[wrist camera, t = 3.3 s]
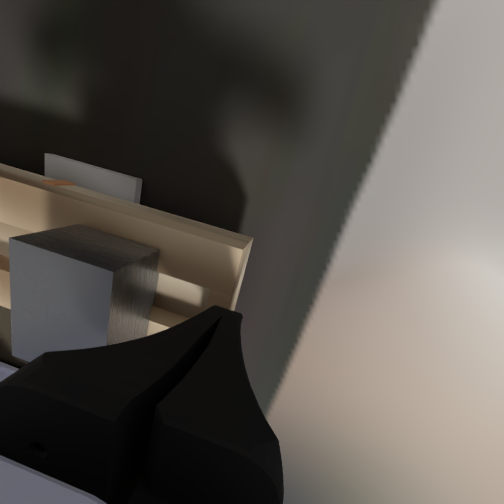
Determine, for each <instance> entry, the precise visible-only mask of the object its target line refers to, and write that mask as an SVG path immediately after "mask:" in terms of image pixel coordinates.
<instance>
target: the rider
mask: <svg viewBox="0 0 504 504" xmlns="http://www.w3.org/2000/svg"><path fill="white" fill-rule="evenodd" d="M159 254H160V249H158V248H154V247H151V246H148V245H145V244H142V243H138V242H135V241H132V240H129V239H125V238H122V237H119V236H116V235H113V234H109V233H106V232H103V231H100V230H97V229H93V228H90V227H87V226H84V225H81V224H76V225H71V226H65V227H60V228H55V229H50V230H45V231H40V232H35V233H30V234H25V235H20V236H15V237H10V238H9V266H10V301H11V337H12V356H15V357H17V358H20V359H23V360H25V361H28V362H31V361H32V360H34V359H35V358H37V357H38V356H40V355H42V354H43V353H45V352H50V351H64V350H76V349H86V348H93V347H100V346H106V345H112V344H117V343H122V342H126V341H130V340H134V339H138V338H142V337H145V336H147V332H148V325H149V319H150V312H151V306H152V305H153V304H154V303H155V297H156V290H157V284H158V278H159V273H158V272H157V267H158V260H159Z"/></svg>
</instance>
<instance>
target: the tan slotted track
mask: <svg viewBox="0 0 504 504" xmlns="http://www.w3.org/2000/svg"><path fill="white" fill-rule="evenodd" d="M142 180H143V179H140V178H136V177H133V176H129V175H126V174H122V173H119V172H115V171H111V170H108V169H104V168H101V167H97V166H94V165H90V164H87V163H83V162H80V161H76V160H73V159H69V158H66V157H62V156H59V155H55V154H48V153H45V176H42V175H38V174H35V173H32V172H28V171H25V170H21V169H18V168H15V167H11V166H8V165H4V164H1V163H0V305H1V306H3V307H6V308H9V309H11V301H10V266H9V238H10V237H15V236H20V235H25V234H30V233H35V232H40V231H45V230H50V229H55V228H60V227H65V226H71V225H76V224H81V225H84V226H87V227H90V228H93V229H97V230H100V231H103V232H106V233H109V234H113V235H116V236H119V237H122V238H125V239H129V240H132V241H135V242H138V243H142V244H145V245H148V246H151V247H154V248H158V249H160V254H159V260H158V267H157V272H158V273H159V278H158V284H157V290H156V297H155V303H154V304H153V305H152V306H151V312H150V319H149V325H148V332H147V336H149V335H152V334H155V333H158V332H160V331H163V330H166V329H168V328H171V327H173V326H175V325H177V324H180V323H182V322H184V321H186V320H188V319H190V318H191V317H193V316H195V315H197V314H199V313H201V312H203V311H204V310H206V309H208V308H210V307H211V306H214V305H217V306H220V307H223V308H226V309H229V310H232V311H234V310H235V306H236V302H237V298H238V295H239V291H240V287H241V283H242V279H243V276H244V272H245V268H246V264H247V260H248V256H249V253H250V249H251V245H252V241H253V238H252V237H249V236H245V235H242V234H238V233H235V232H232V231H228V230H225V229H221V228H218V227H215V226H211V225H208V224H205V223H201V222H198V221H194V220H191V219H188V218H184V217H181V216H177V215H174V214H171V213H167V212H164V211H160V210H157V209H154V208H150V207H147V206H143V205H140V196H141V188H142Z"/></svg>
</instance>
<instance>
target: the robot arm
mask: <svg viewBox="0 0 504 504" xmlns="http://www.w3.org/2000/svg"><path fill="white" fill-rule="evenodd" d="M242 318H243V316H242V314H241V313H238V312H235V311H232V310H229V309H226V308H223V307H220V306H217V305H214V306H211V307H210V308H208V309H206V310H204V311H203V312H201V313H199V314H197V315H195V316H193V317H191V318H190V319H188V320H186V321H184V322H182V323H180V324H177V325H175V326H173V327H171V328H168V329H166V330H163V331H160V332H158V333H155V334H152V335H149V336H145V337H142V338H138V339H134V340H130V341H126V342H122V343H117V344H112V345H106V346H100V347H93V348H86V349H76V350H64V351H50V352H45V353H43V354H42V355H40V356H38V357H37V358H35V359H34V360H32V361H31V362H29V363H28V364H26V365H25V366H23V367H22V368H20V369H18V368H16V367H13V366H10V365H8V364H5V363H3V362H0V504H283V495H284V487H283V471H282V470H283V469H282V460H281V453H280V446H279V441H278V439H277V437H276V435H275V434H274V432H273V431H272V429H271V427H270V426H269V424H268V422H267V421H266V419H265V417H264V415H263V413H262V411H261V409H260V407H259V405H258V402H257V400H256V397H255V395H254V392H253V390H252V388H251V385H250V382H249V379H248V376H247V372H246V368H245V364H244V360H243V354H242V347H241V336H240V328H241V322H242Z"/></svg>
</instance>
